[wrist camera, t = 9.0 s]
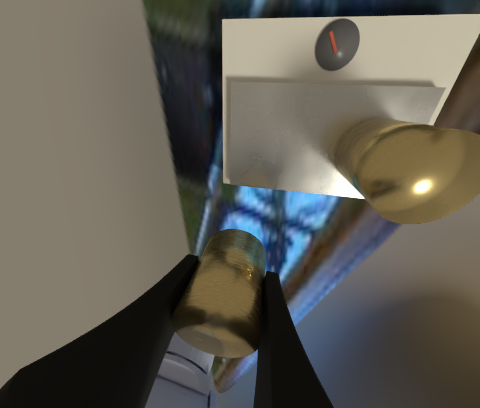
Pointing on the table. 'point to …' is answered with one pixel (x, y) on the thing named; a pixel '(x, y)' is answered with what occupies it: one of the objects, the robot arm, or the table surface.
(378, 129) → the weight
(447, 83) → the scale
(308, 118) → the scale pan
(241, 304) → the cylinder
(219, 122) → the table surface
